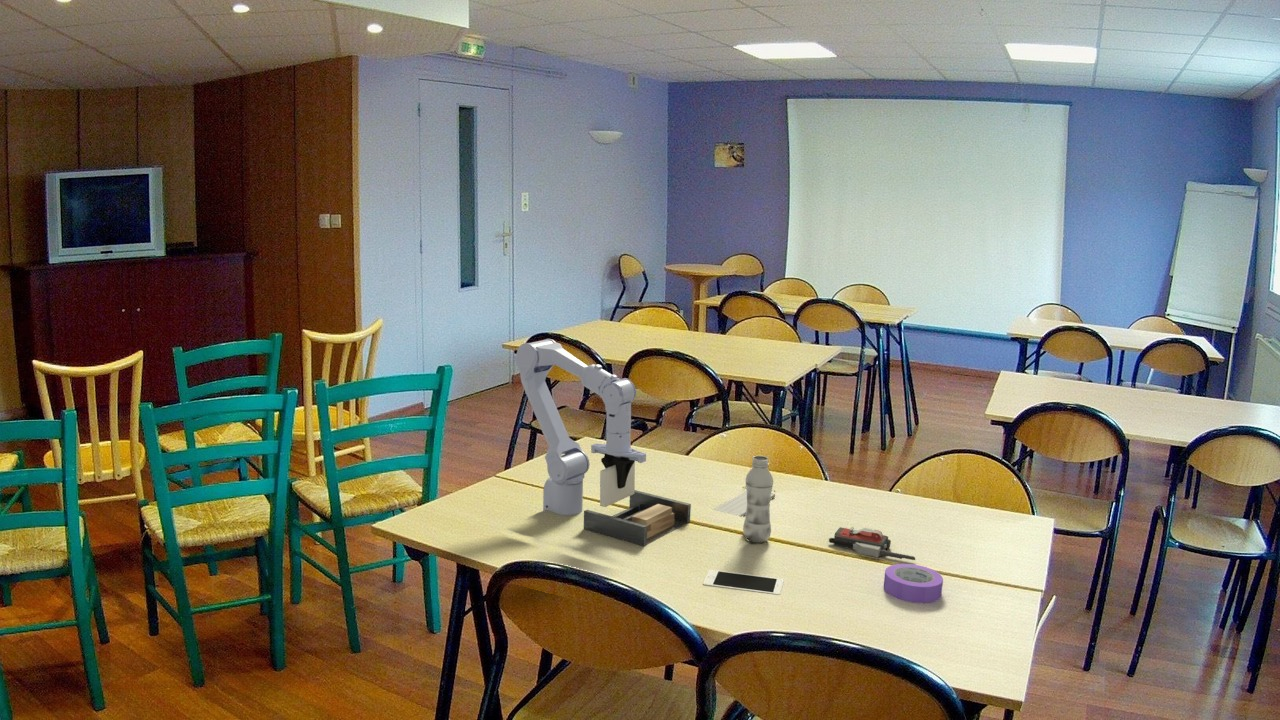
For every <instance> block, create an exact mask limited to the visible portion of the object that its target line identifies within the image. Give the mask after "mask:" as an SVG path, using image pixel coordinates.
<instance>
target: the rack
mask: <svg viewBox="0 0 1280 720" xmlns="http://www.w3.org/2000/svg"><path fill="white" fill-rule="evenodd" d="M657 504H661V505H665V506H669V507H672V513H674V525H672V526H670V527H668V528H667V529H665V530H663V531H661V532H659V533H657V534H655V535H653V536H651V537H649V538H647V526H646V525H642V524H639V523H635V522H632V516H634V515H636V514H638V513H640V512H642V511H644V510H646V509H648V508H650V507H652V506H655V505H657ZM628 506H629V507H628V508H626V509H624V510H622V511H620V512H617V513H616V514H614V515H609V514H608V515H607V514H605V513H601V512H596V511H595V510H594V511H593V510H590V509H586V510H583V530H584V531H588V532H591V533H595V534H598V535H601V536H605V537H609V538H611V539H612V538H613V539H616V540H620V541H622V542H623V541H624V542H627V543H630V544H632V545H637V546H639V547H640V546H641V547H645V546H647V545H649V544H651V543H653V542H655V541H656V540H659V539H661V538H662V537H664V536H666V535H668V534H670V533H673V531H675V530H677V529H680V528H681V527H683V526H685V525H686V524H689V523H690V522H691V507H692V505H691V503H689V502H684V501H681V500H677V499H673V498H668V497H664V496H660V495H657V494H652V493H650V492H649V493H648V492H644V491H641V490H636V489H635V494H633V495H631V496H629V505H628Z"/></svg>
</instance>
